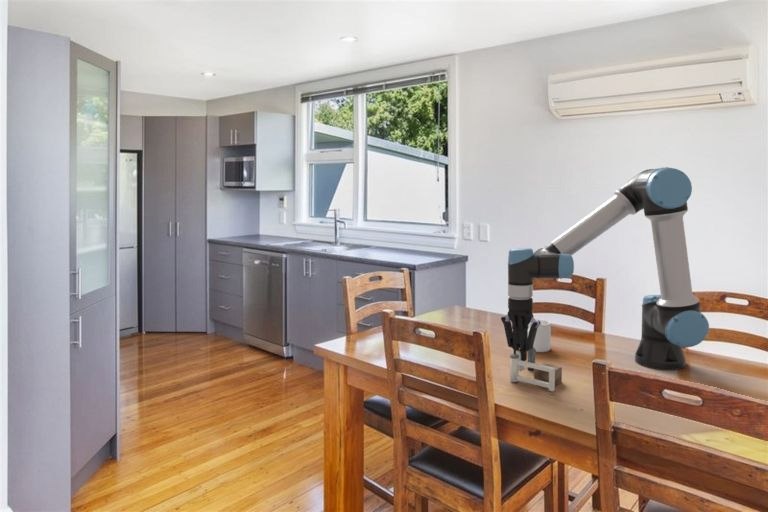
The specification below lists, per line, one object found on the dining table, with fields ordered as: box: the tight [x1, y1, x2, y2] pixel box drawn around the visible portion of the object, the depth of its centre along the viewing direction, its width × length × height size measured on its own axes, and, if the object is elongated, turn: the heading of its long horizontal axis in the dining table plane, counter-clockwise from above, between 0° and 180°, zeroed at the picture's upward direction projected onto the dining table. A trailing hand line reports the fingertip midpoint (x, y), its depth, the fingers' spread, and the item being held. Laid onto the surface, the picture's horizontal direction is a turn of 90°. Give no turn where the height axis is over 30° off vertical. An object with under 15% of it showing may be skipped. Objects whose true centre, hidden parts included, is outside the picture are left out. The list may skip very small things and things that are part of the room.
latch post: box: [527, 347, 537, 372], centre depth 178 cm, size 3×3×8 cm
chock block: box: [533, 362, 563, 387], centre depth 166 cm, size 6×6×5 cm
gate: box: [509, 353, 556, 392], centre depth 163 cm, size 14×3×8 cm, turn 46°
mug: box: [528, 319, 552, 353], centre depth 199 cm, size 12×8×10 cm
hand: (520, 370), depth 173 cm, fingers closed
